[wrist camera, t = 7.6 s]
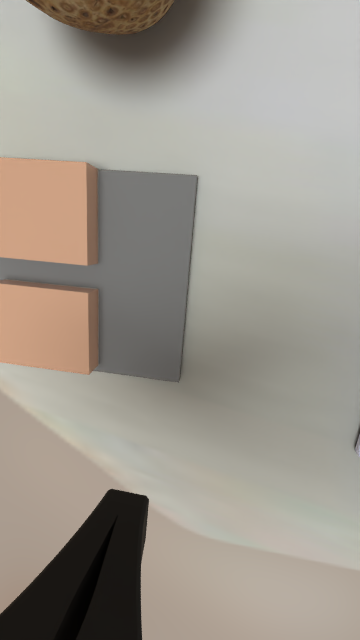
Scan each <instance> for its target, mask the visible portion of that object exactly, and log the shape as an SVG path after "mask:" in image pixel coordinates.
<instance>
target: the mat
mask: <svg viewBox="0 0 360 640" xmlns="http://www.w3.org/2000/svg"><path fill="white" fill-rule="evenodd" d="M197 179H198V177H197V175H183V174H166V173H149V172H132V171H116V170H99V169H98V264H93V265H88V266H86V265H76V264H66V263H55V262H45V261H35V260H24V259H14V258H4V257H0V280H4V279H11V280H20V281H30V282H39V283H49V284H58V285H68V286H77V287H87V288H96V289H99V365H98V366H97V367H96V368H95V369H94V370H93V371H100V372H107V373H114V374H121V375H129V376H136V377H143V378H150V379H158V380H165V381H172V382H179V380H180V372H181V361H182V350H183V338H184V327H185V316H186V304H187V293H188V281H189V270H190V259H191V247H192V236H193V225H194V213H195V202H196V191H197Z"/></svg>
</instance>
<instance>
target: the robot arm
mask: <svg viewBox="0 0 360 640" xmlns="http://www.w3.org/2000/svg"><path fill="white" fill-rule="evenodd" d="M355 451H356V453H357V454H358V456H359V457H360V435H359V438H358V441H357V445H356V448H355ZM148 504H149V499H148V498H147V496H144V495H139V494H134V493H129V492H124V491H119V490H114V489H110V490H108V491H107V493H106V494H105V496H104V497H103V499H102V500H101V501H100V503H99V504H98V505H97V507H96V508H95V509H94V511H93V512H92V513H91V515H90V516H89V517H88V518H87V520H86V521H85V522H84V523H83V525H82V526H81V527H80V528H79V530H78V531H77V532H76V533H75V534H74V536H73V537H72V538H71V539H70V540H69V542H68V543H67V544H66V545H65V546H64V548H63V549H62V550H61V551H60V552H59V553H58V554H57V555H56V557H55V558H54V559H53V560H52V561H51V562H50V563H49V564H48V565H47V566H46V567H45V569H44V570H43V571H42V572H41V573H40V574H39V575H38V576H37V577H36V578H35V580H34V581H33V582H32V583H31V584H30V585H29V586H28V587H27V588H26V589H25V590H24V591H23V592H22V593H21V594H20V595H19V596H18V597H17V598H16V599H15V600H14V601H13V602H12V603H11V604H10V605H9V606H8V607H7V608H6V609H5V610H4V611H3V612H2V613H1V614H0V640H142V628H141V591H140V590H141V589H140V588H141V578H140V577H141V560H142V554H143V549H144V544H145V538H146V526H147V516H148Z"/></svg>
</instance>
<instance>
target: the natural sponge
mask: <svg viewBox="0 0 360 640" xmlns="http://www.w3.org/2000/svg"><path fill="white" fill-rule="evenodd" d="M26 1H27V2H29V3H30V4H32V5H33V6H35V7H36V8H38V9H39V10H41V11H42V12H44V13H46V14H47V15H49V16H50V17H52V18H54V19H56V20H58V21H60V22H62V23H64V24H67V25H69V26H72V27H75V28H78V29H82V30H86V31H91V32H98V33H105V34H116V35H121V34H133V33H137V32H140V31H142V30H145V29H147V28H149V27H151V26H152V25H154V24H155V23H157V22H158V21H159V20H160V19H161V18H162V17H163V16H164V15H165V14H166V12H167V11H168V10H169V8H170V7H171V5H172V4H173V2H174V1H175V0H26Z"/></svg>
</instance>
